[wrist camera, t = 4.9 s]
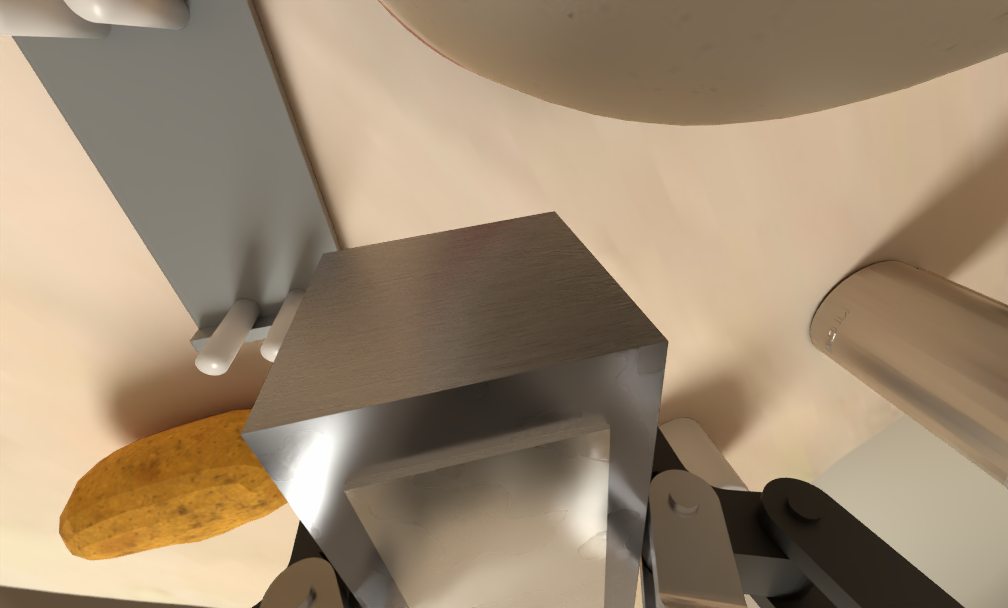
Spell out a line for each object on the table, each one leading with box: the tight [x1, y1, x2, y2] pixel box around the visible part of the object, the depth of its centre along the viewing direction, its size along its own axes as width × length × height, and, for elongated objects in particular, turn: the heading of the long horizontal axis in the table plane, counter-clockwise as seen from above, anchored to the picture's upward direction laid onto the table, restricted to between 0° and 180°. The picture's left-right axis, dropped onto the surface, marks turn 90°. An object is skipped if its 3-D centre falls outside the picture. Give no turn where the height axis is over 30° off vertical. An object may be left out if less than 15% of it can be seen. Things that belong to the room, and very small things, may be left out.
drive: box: [240, 211, 668, 608], centre depth 10 cm, size 5×10×5 cm, turn 7°
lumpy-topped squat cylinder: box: [658, 418, 749, 491], centre depth 38 cm, size 10×13×9 cm
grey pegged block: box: [0, 0, 341, 375], centre depth 18 cm, size 9×17×6 cm, turn 6°
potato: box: [59, 409, 288, 560], centre depth 26 cm, size 7×14×7 cm, turn 100°
